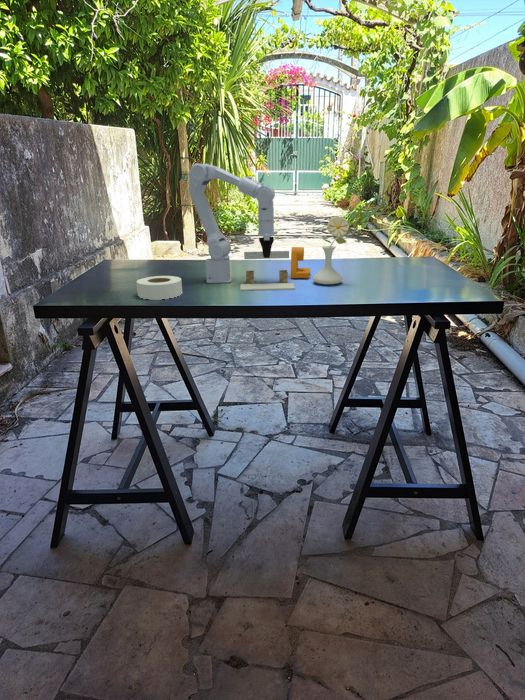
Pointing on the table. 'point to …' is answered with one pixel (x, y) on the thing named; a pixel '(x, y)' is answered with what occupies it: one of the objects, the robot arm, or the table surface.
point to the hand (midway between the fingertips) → (266, 257)
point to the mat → (267, 286)
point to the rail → (260, 256)
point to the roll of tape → (159, 287)
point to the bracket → (296, 256)
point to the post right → (283, 276)
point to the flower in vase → (337, 229)
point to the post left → (249, 277)
